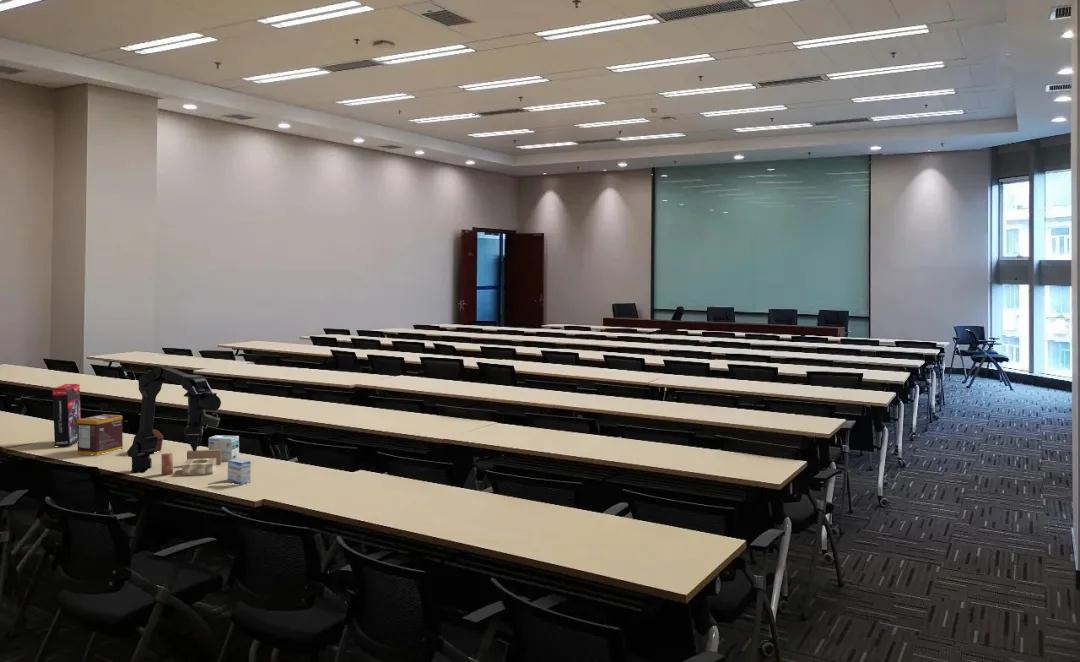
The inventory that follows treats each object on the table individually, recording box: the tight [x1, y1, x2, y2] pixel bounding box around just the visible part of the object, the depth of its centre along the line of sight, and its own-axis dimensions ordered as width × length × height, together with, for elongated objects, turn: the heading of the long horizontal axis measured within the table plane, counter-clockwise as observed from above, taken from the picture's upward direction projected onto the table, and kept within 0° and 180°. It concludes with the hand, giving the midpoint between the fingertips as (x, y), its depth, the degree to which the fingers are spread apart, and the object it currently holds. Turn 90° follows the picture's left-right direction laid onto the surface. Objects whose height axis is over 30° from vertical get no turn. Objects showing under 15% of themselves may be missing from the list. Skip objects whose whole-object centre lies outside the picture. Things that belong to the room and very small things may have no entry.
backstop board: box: [186, 449, 222, 466], centre depth 323 cm, size 13×20×7 cm, turn 15°
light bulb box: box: [208, 434, 240, 462], centre depth 343 cm, size 11×7×11 cm, turn 84°
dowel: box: [161, 452, 174, 476], centre depth 314 cm, size 4×4×9 cm
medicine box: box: [227, 458, 252, 486], centre depth 307 cm, size 8×4×9 cm, turn 62°
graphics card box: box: [52, 383, 82, 447], centre depth 372 cm, size 17×7×27 cm, turn 13°
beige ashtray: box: [181, 458, 217, 476], centre depth 320 cm, size 11×11×4 cm
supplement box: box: [77, 413, 124, 456], centre depth 357 cm, size 10×15×16 cm
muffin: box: [153, 428, 165, 452], centre depth 359 cm, size 12×11×10 cm
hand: (196, 448), depth 309 cm, fingers open, 9 cm apart
